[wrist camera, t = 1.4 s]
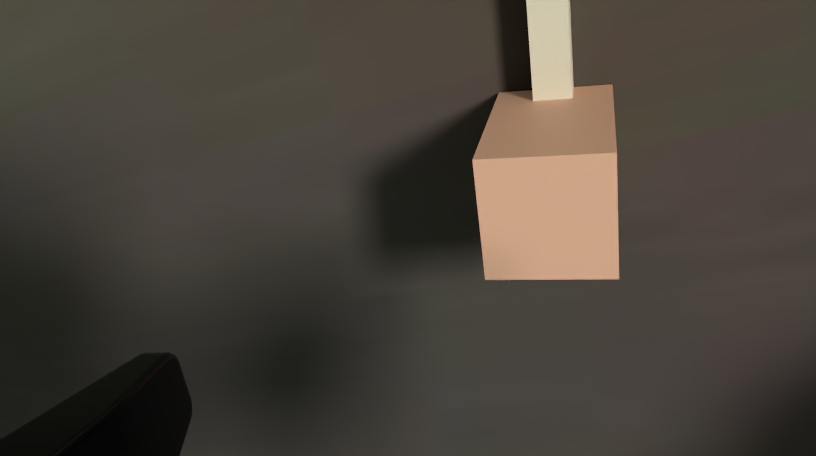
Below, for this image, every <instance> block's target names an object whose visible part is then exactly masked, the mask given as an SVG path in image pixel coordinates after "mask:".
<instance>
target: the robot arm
mask: <svg viewBox="0 0 816 456" xmlns="http://www.w3.org/2000/svg"><path fill="white" fill-rule="evenodd" d="M191 416H192V401H191V397H190V394H189V391H188V388H187V385H186V382H185V379H184V376H183V373H182V370H181V367H180V363H179V361H178V359H177V358H176V356H175V355H173V354H171V353H168V352H165V353H143V354H140V355H139V356H137V357H135V358H134V359H132V360H130V361H129V362H127V363H125V364H124V365H122V366H120V367H119V368H117V369H115V370H114V371H112V372H110V373H109V374H107V375H106V376H104V377H102V378H101V379H99V380H97V381H96V382H94V383H92V384H91V385H89V386H87V387H86V388H84V389H82V390H81V391H79V392H77V393H76V394H74V395H73V396H71V397H69V398H68V399H66V400H64V401H63V402H61V403H59V404H58V405H56V406H54V407H53V408H51V409H49V410H48V411H46V412H44V413H43V414H41V415H40V416H38V417H36V418H35V419H33V420H31V421H30V422H28V423H26V424H25V425H23V426H21V427H20V428H18V429H16V430H15V431H13V432H11V433H10V434H8V435H7V436H5V437H3V438H2V439H0V456H180V453H181V450H182V446H183V443H184V440H185V437H186V434H187V430H188V427H189V424H190V421H191Z"/></svg>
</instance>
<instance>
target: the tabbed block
mask: <svg viewBox="0 0 816 456" xmlns="http://www.w3.org/2000/svg"><path fill="white" fill-rule="evenodd" d="M526 5H527V19H528V34H529V49H530V64H531V79H532V90H527V91H513V92H499V94H498V96H497V99H496V101H495V104H494V106H493V109H492V111H491V114H490V116H489V119H488V121H487V124H486V126H485V129H484V131H483V134H482V136H481V139H480V142H479V144H478V147H477V149H476V152H475V154H474V157H473V159H472V162H473V171H474V180H475V190H476V199H477V208H478V218H479V227H480V236H481V246H482V255H483V264H484V273H485V280H554V279H619V247H618V191H617V148H616V132H615V117H614V101H613V86H612V84H611V85H597V86H583V87H574V85H573V62H572V38H571V15H570V0H526Z"/></svg>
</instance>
